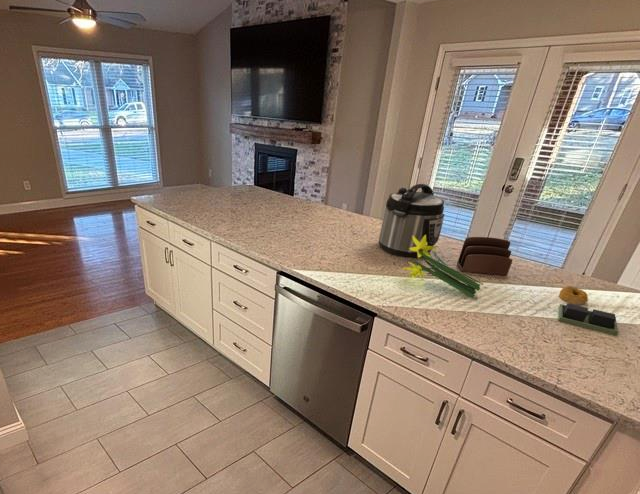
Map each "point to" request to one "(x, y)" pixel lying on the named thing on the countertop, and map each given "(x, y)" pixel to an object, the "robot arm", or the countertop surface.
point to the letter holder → (485, 256)
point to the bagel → (573, 295)
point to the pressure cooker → (411, 220)
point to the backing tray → (586, 322)
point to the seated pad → (575, 312)
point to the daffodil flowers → (438, 273)
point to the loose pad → (602, 319)
